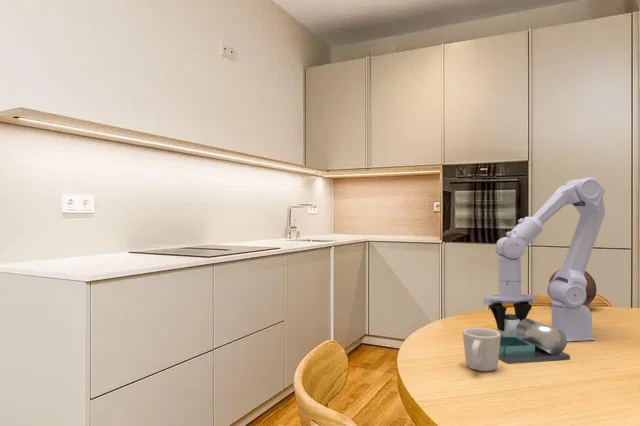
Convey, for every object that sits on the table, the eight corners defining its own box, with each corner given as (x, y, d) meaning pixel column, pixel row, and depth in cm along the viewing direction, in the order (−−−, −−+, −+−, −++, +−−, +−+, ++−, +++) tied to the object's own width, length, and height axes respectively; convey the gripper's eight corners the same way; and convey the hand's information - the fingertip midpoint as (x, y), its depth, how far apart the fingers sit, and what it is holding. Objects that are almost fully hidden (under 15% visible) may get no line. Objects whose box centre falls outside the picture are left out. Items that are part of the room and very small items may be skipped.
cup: (494, 381, 92) (494, 342, 92) (455, 374, 96) (455, 336, 96) (503, 365, 101) (503, 330, 101) (467, 359, 106) (467, 325, 106)
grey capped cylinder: (513, 333, 127) (513, 312, 127) (524, 338, 122) (523, 316, 122) (496, 334, 126) (496, 313, 126) (507, 339, 121) (506, 317, 121)
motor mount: (534, 343, 118) (534, 317, 118) (569, 359, 105) (569, 329, 105) (478, 347, 116) (478, 319, 116) (507, 363, 103) (506, 333, 103)
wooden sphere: (559, 302, 171) (558, 263, 171) (603, 308, 159) (602, 266, 160) (541, 308, 162) (540, 266, 162) (586, 315, 150) (586, 270, 150)
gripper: (524, 277, 129) (525, 324, 129) (477, 279, 127) (478, 327, 127) (540, 281, 122) (541, 331, 122) (491, 283, 120) (491, 333, 120)
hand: (510, 329), depth 124 cm, fingers closed on grey capped cylinder, 5 cm apart
